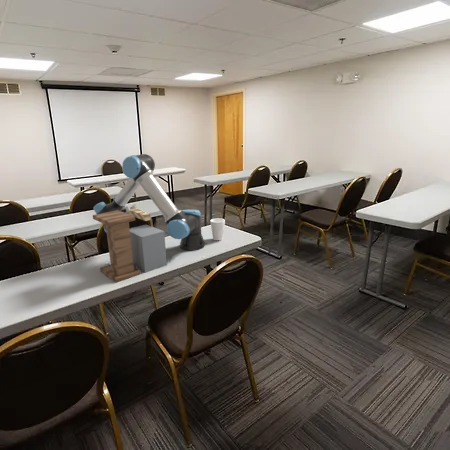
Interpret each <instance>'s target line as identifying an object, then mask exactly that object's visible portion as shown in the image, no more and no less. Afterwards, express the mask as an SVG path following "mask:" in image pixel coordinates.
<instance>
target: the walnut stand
mask: <svg viewBox="0 0 450 450" xmlns="http://www.w3.org/2000/svg"><path fill="white" fill-rule="evenodd" d="M92 219H93V220H94V221H97V222H99V223H100V224H102V225H104V224H105V225H106V232H107V233H106V232H105V233H106V237H107V238H106V239H107V244H108V245H107V246H108V253H109V260H110V264H109V265H105V266H100V268H99V270H100V272H101V273H102V274H104V275H105V276H106V277H108V278H109V279H110V280H112V281H113V282H114V283H119V282H122V281H125V280H128V279H130V278H133V277H137V276H139V275H140V276H141V274H142V272H141V271H142V270H140V269H138V268H137V267H135V266H133V257H132V248H131V239H130V229H129V228H130V222H134V221H135V222H136V217H135V216H132V215H129V214H127V213H124V212H121V211H118V210H117V211H111V212H106V213H101V214H96V213H95V214H92Z"/></svg>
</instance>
